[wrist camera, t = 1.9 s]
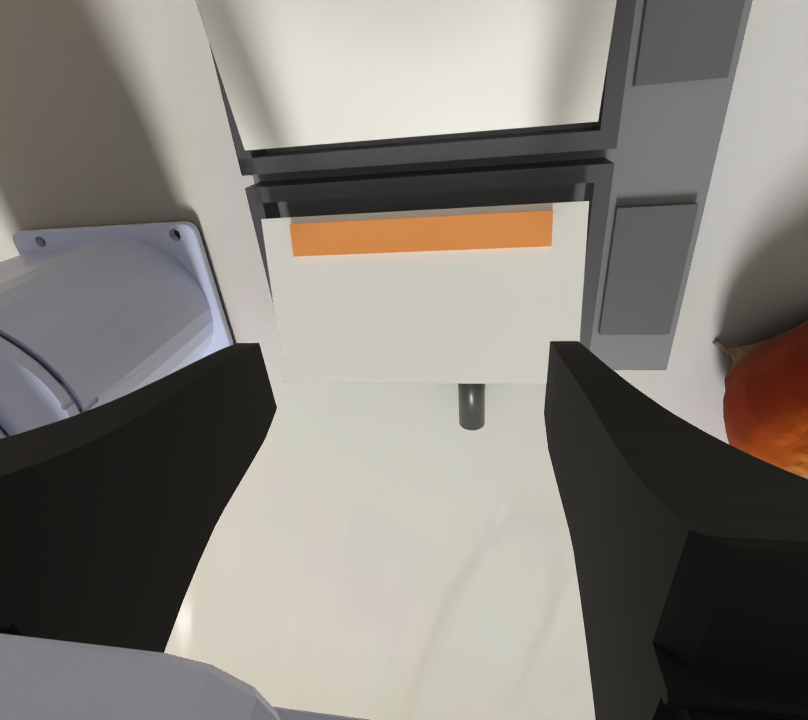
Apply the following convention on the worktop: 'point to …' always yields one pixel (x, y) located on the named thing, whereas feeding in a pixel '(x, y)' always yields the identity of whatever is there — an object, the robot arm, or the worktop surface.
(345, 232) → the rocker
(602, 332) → the rocker switch panel
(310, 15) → the rocker middle
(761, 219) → the worktop surface
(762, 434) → the fruit
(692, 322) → the worktop surface
